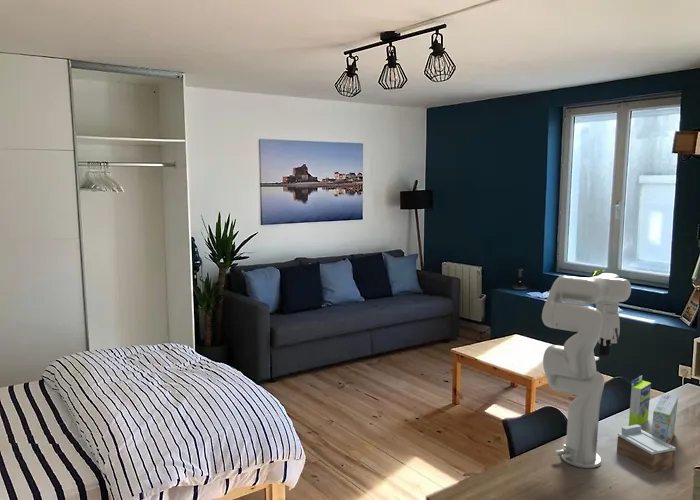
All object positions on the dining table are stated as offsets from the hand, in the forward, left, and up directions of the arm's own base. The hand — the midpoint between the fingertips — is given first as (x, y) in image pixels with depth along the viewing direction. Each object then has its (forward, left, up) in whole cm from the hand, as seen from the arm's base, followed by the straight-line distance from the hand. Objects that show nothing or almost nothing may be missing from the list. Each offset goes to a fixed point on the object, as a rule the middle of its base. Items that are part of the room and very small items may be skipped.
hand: (604, 354), depth 206 cm
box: (+19, -1, -29) cm, 35 cm away
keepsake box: (-3, -24, -29) cm, 38 cm away
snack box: (+13, -17, -29) cm, 36 cm away
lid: (-3, -24, -22) cm, 33 cm away
